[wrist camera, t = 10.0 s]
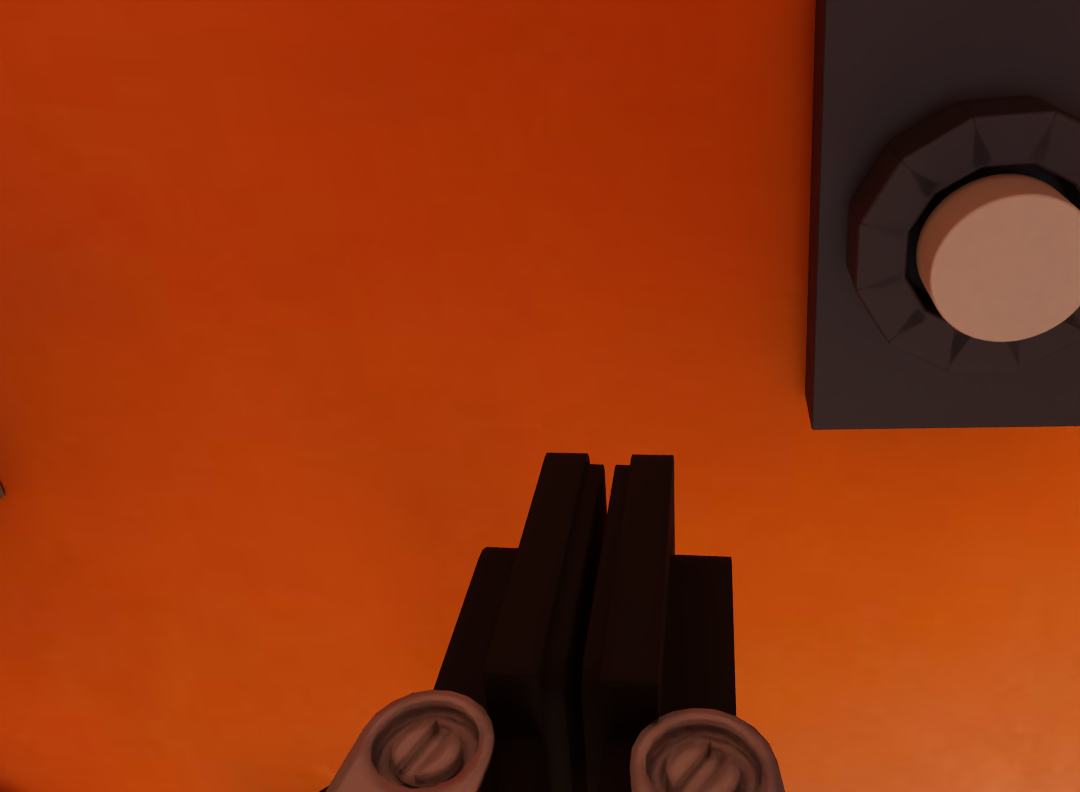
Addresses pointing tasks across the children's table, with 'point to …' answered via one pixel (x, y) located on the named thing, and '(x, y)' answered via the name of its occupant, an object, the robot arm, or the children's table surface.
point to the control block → (931, 204)
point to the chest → (1, 492)
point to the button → (1002, 257)
